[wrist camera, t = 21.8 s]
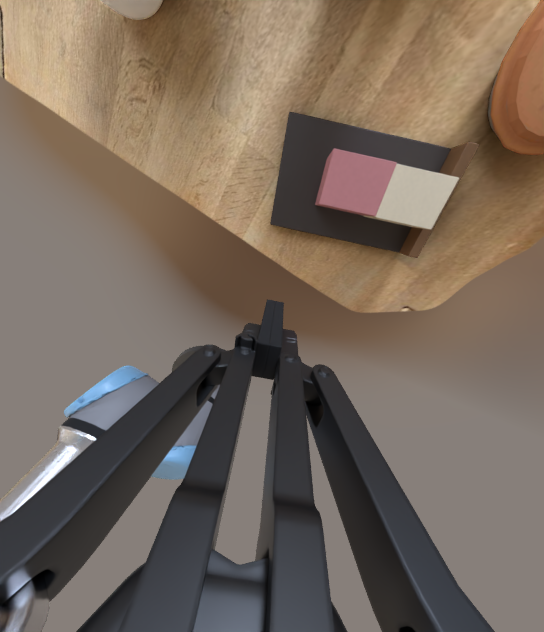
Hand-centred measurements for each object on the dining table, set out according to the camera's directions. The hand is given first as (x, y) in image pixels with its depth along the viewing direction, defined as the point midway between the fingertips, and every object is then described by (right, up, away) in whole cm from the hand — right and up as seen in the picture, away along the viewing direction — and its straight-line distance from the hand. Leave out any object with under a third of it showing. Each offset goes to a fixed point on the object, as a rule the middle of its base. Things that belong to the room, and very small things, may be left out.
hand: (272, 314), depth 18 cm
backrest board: (+13, +20, +13) cm, 27 cm away
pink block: (+11, +19, +12) cm, 25 cm away
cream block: (+19, +18, +12) cm, 29 cm away
